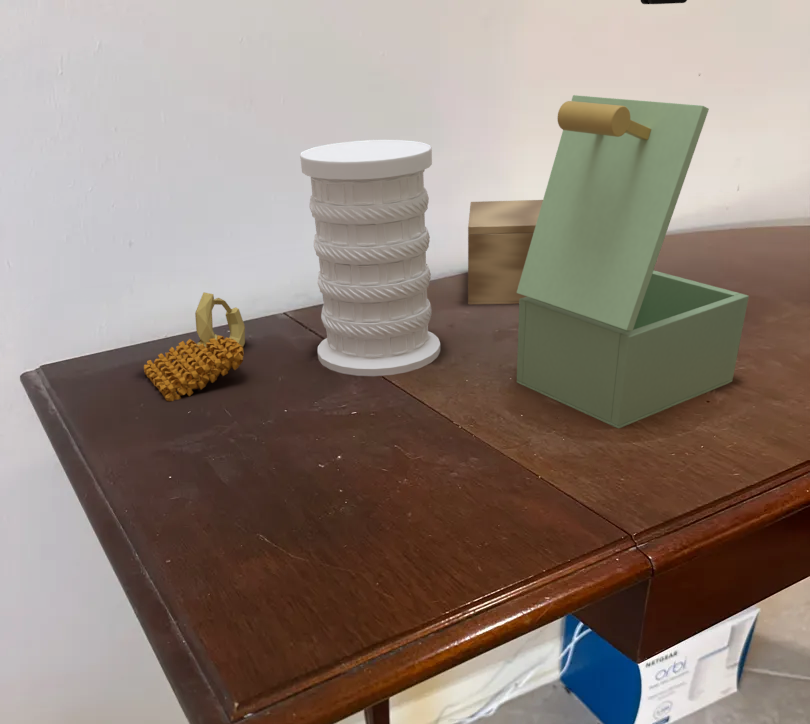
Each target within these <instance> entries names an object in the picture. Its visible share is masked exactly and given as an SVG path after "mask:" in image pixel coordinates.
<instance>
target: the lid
mask: <svg viewBox="0 0 810 724" xmlns="http://www.w3.org/2000/svg"><path fill="white" fill-rule="evenodd" d="M709 109H710V108H709V107H707V106H705V105H698V104H688V103H687V104H686V103H675V102H674V103H673V102H661V101H651V100H650V101H649V100H637V99H625V98H614V97H613V98H612V97H602V96H601V97H600V96H590V95H589V96H588V95H577V94H576V95H575V94H574V95H572V98H571V100H566V101H565V102H563V103H562V105H561V106H560V107H559V109H558V112H557V124H558V127H559V128H560V129H561V130H562V133H561V136H560V140H559V144H558V147H557V150H556V153H555V156H554V161H553V164H552V167H551V171H550V174H549V178H548V181H547V185H546V188H545V192H544V195H543V199H542V200H543V202H542V205H541V209H540V212H539V216H538V219H537V223H536V226H535V230H534V233H533V237H532V240H531V244H530V247H529V251H528V254H527V258H526V261H525V265H524V268H523V272H522V275H521V279H520V282H519V286H518V289H517V293H518V294H521V295H524V296H527V297H530V298H533V299H535V300H538V301H541V302H544V303H547V304H550V305H553V306H556V307H559V308H562V309H565V310H568V311H571V312H574V313H577V314H580V315H582V316H585V317H588V318H591V319H594V320H597V321H600V322H603V323H606V324H609V325H612V326H615V327H618V328H621V329H624V330H627V331H633V328H634V325H635V322H636V319H637V316H638V314H639V311H640V308H641V305H642V302H643V299H644V296H645V293H646V290H647V287H648V285H649V282H650V279H651V276H652V273H653V270H654V271H655V267H656V264H657V261H658V258H659V255H660V253H661V250H662V247H663V243H664V241H665V239H666V235H667V232H668V229H669V226H670V223H671V221H672V218H673V214H674V211H675V209H676V205H677V204H678V200H679V198H680V195H681V192H682V189H683V186H684V183H685V180H686V177H687V174H688V171H689V168H690V166H691V162H692V160H693V156H694V153H695V151H696V148H697V145H698V143H699V139H700V136H701V134H702V131H703V128H704V126H705V122H706V119H707V116H708V113H709Z"/></svg>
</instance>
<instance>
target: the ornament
mask: <svg viewBox="0 0 810 724" xmlns="http://www.w3.org/2000/svg"><path fill="white" fill-rule="evenodd" d="M215 305H218V306H219V305H220V306H222V307H223V308H224V310H225V318H226V322H227V326H228V330H229V337H227V336H226V337H225V336H223V335H219V334H217V333H215V332H214V328H213V327H214V326H213V309H214V307H215ZM194 316H195V331H196V334H197V335H198V337H199V340H198V342H197V343H196V342H195V341H194V340H192V339H191V338H189V339H188V340H187V341H186V342H185V341H184V340H181V341H180V342H179V343H178V345H176V346H175V348H174V347H173V346H171V347H170V348H169V350H168V352H165V353H164V354H163V353H159V354H157V357H158V358H155V359H154V360H151V359H149V360H147V361H146V364H143V372H144V375H145V376H146V377H147V378H148V379H149V380H150V382H151V383H152V384H153V386H154V387H156V388H157V389H158V392H159V393H161V394H162V396H163V397H164V399H165V401H166V402H174V401H175V400H182V397H181V396H186V395H187V396H188V397H191V396H192V395H193V394H194V391H193V390H203V389H204V388H205V387H206V386H207V385H208V383H209V382H210V383H212V384H213V383H215V382H216V381H217V380H218V378H219V376H220V375H221V376H222V377H224V376H226V375H228V374H229V371H230V370H231V369H232V370H234V371H236V370H237V369H238V368H239V367H240V366H241V365H242V364H243V362H244V356H245V353H244V346H245V344H246V326H245V322H244V320H243V317H242V314H241V311H240V308H238V307H237V306H236V307H233V308H231V306H230V305H229V304H228V303H227V301H226V300H225V299H223V298H220V297H217V298H216V297H215V296H214V293H209V292H202V295H201V298H200V300H199V302H198V305H197V308H196V310H195V313H194Z"/></svg>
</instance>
